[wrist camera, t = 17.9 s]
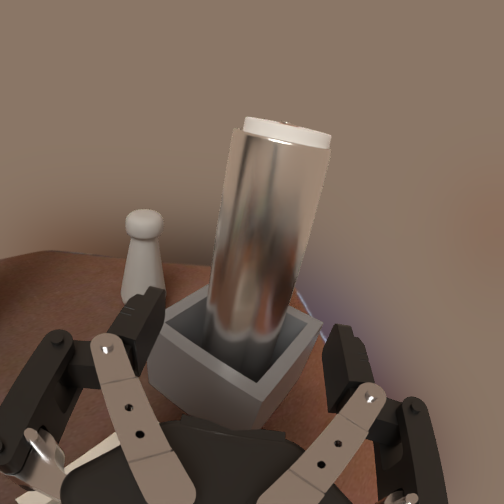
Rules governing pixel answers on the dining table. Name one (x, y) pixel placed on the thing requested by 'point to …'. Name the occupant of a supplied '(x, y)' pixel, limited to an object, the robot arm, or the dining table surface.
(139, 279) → the salt shaker
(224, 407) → the grey open box
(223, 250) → the silver tall cylinder
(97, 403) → the dining table surface
